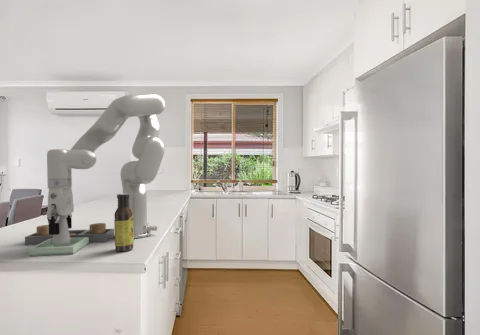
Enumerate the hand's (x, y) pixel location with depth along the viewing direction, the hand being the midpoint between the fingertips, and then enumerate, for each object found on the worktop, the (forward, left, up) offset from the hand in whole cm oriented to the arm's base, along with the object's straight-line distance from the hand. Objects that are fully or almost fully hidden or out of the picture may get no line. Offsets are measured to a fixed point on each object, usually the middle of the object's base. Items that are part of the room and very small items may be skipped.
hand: (60, 231), depth 110 cm
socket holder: (+2, -14, -6) cm, 16 cm away
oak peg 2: (-8, -14, -7) cm, 17 cm away
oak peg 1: (+12, -14, -7) cm, 20 cm away
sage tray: (0, 0, -6) cm, 6 cm away
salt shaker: (0, 0, -6) cm, 6 cm away
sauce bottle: (-23, +4, -7) cm, 24 cm away
